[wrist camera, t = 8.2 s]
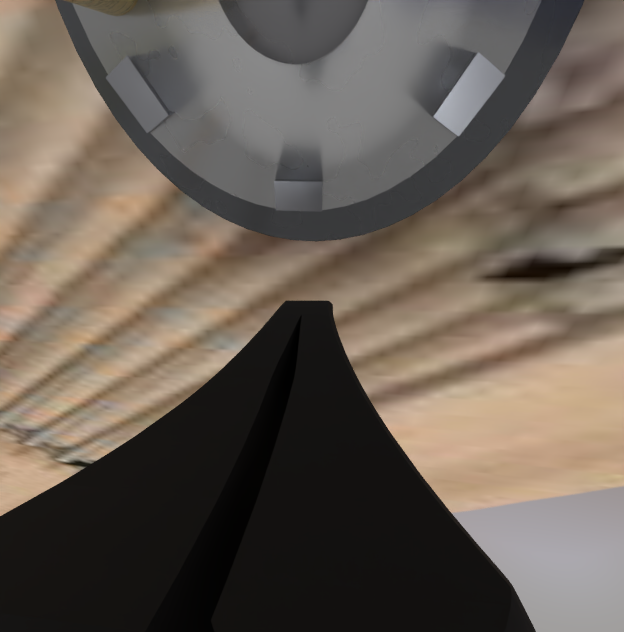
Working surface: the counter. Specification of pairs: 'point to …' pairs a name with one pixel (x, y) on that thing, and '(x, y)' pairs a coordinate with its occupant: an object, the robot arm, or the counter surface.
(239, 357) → the robot arm
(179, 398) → the counter surface
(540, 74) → the dark grey flat disc
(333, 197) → the lugged hub disc
